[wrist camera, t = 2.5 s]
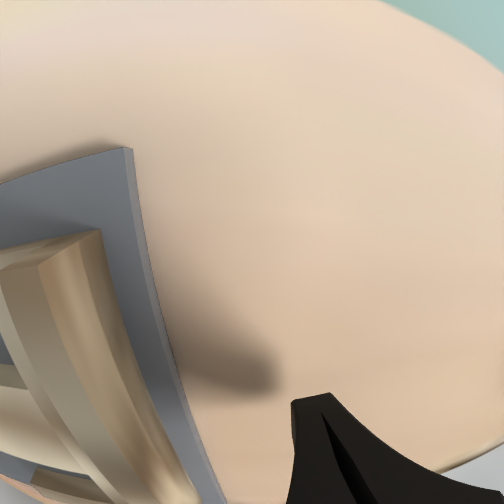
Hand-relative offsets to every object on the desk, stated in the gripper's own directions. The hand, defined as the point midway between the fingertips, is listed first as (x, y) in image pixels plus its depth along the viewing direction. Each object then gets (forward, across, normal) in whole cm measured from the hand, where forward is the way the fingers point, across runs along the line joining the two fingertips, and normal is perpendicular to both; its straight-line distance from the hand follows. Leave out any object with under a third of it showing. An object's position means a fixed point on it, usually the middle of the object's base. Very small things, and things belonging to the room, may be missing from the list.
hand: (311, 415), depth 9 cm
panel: (+1, +10, 0) cm, 10 cm away
